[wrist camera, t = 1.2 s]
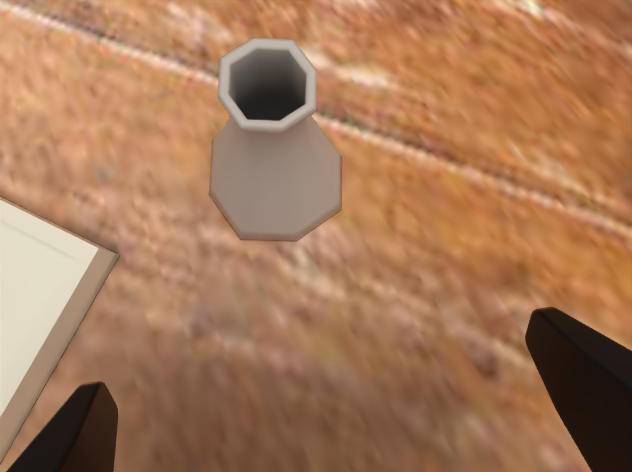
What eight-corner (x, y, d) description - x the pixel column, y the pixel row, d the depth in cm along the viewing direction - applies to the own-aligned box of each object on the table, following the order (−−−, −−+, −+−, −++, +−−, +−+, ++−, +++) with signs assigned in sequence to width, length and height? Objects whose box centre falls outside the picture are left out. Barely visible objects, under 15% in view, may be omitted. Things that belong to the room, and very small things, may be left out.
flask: (228, 262, 23) (183, 224, 13) (192, 132, 24) (123, 7, 14) (362, 222, 24) (414, 158, 14) (321, 98, 25) (342, -43, 15)
